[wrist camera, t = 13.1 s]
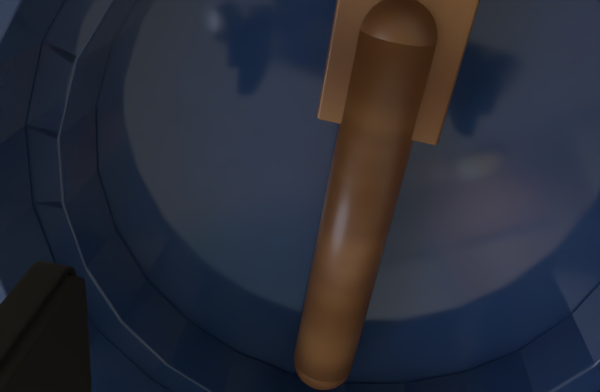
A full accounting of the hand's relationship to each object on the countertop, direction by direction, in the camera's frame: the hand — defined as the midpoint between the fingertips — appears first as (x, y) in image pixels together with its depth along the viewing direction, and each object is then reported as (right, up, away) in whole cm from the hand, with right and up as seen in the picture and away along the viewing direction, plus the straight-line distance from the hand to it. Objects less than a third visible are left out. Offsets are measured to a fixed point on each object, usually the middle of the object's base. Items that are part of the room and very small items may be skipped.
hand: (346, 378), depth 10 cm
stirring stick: (+1, +3, +7) cm, 8 cm away
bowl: (+1, +4, +8) cm, 9 cm away
